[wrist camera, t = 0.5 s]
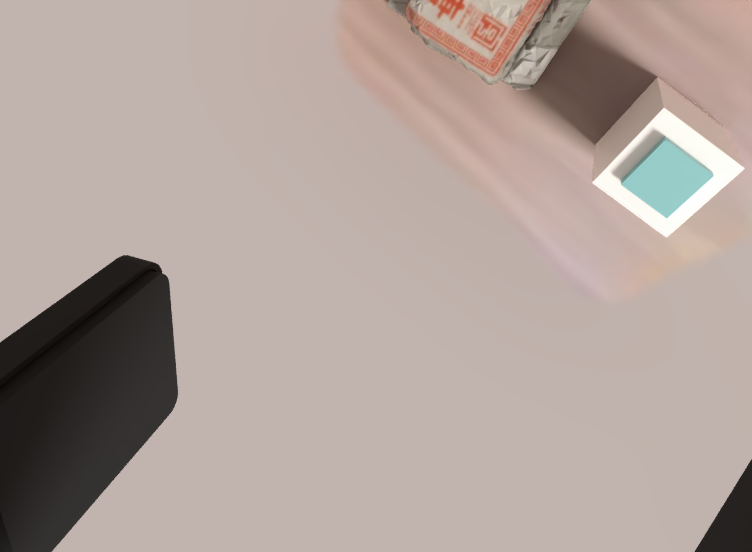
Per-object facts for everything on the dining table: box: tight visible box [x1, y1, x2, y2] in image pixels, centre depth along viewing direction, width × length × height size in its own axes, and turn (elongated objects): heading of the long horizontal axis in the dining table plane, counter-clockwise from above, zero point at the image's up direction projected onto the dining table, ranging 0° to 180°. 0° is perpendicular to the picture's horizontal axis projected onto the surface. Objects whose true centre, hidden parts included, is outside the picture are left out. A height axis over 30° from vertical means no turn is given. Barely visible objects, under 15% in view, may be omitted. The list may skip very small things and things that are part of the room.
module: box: [592, 77, 745, 238], centre depth 34 cm, size 5×5×7 cm
